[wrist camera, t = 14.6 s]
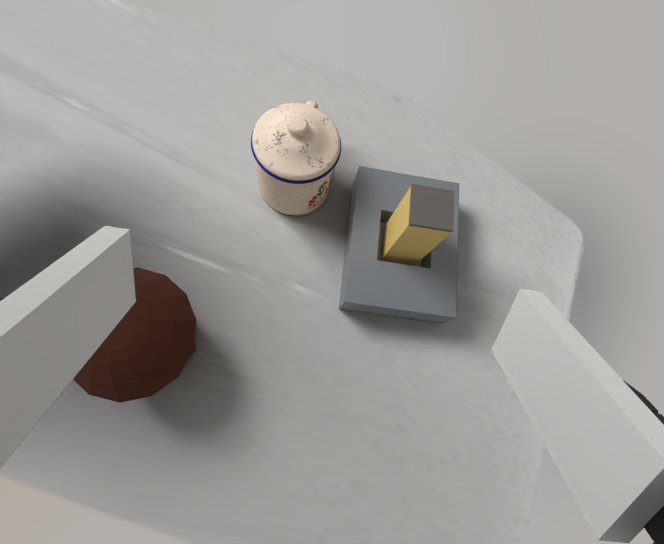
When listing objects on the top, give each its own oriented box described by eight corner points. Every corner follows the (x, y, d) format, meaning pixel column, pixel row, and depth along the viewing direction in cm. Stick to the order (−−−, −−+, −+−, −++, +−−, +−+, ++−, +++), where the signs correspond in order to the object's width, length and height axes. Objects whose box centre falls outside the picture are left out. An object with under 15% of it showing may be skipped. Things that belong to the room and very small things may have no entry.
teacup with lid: (321, 227, 46) (333, 177, 35) (246, 206, 46) (235, 149, 34) (344, 144, 50) (361, 75, 38) (275, 124, 49) (273, 48, 38)
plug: (379, 261, 44) (409, 223, 34) (382, 229, 46) (412, 183, 35) (413, 266, 45) (453, 230, 34) (415, 234, 46) (454, 190, 36)
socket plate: (338, 308, 43) (344, 301, 40) (353, 183, 48) (359, 166, 44) (441, 323, 44) (456, 317, 41) (445, 199, 49) (459, 183, 45)
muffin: (225, 369, 40) (207, 365, 31) (116, 419, 38) (60, 431, 28) (185, 269, 43) (157, 236, 33) (80, 309, 40) (18, 286, 31)
